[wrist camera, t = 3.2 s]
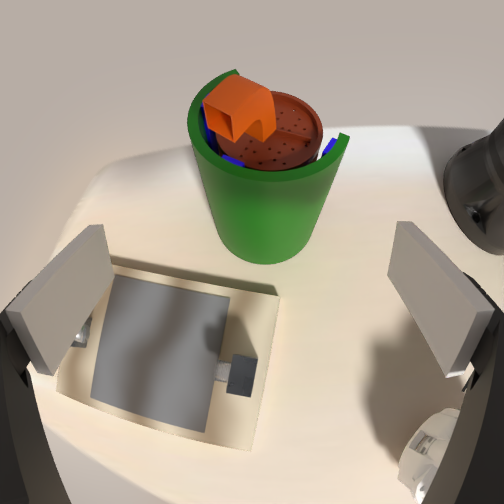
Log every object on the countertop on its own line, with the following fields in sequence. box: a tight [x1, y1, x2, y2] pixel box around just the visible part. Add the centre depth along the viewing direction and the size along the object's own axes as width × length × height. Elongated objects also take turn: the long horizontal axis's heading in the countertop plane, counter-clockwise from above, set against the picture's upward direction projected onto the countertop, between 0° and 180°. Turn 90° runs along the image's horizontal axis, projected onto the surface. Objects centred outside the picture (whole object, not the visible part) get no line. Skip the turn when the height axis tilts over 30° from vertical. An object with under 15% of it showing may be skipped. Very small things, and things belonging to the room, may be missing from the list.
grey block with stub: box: [214, 354, 258, 398], centre depth 26 cm, size 3×3×4 cm
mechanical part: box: [398, 408, 460, 504], centre depth 19 cm, size 11×12×12 cm
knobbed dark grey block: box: [70, 317, 92, 348], centre depth 27 cm, size 3×3×4 cm
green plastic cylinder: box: [187, 69, 350, 265], centre depth 24 cm, size 10×9×20 cm
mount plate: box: [56, 264, 280, 452], centre depth 29 cm, size 21×15×1 cm
